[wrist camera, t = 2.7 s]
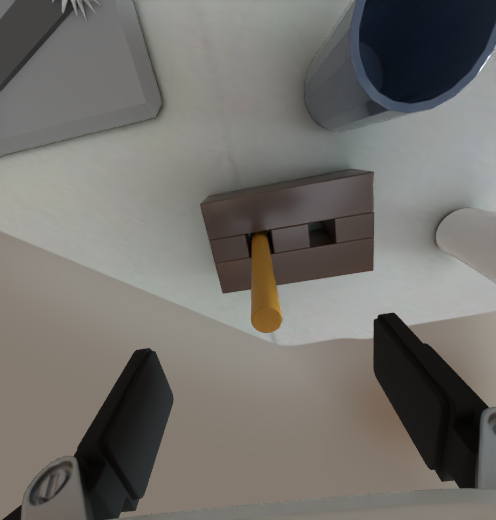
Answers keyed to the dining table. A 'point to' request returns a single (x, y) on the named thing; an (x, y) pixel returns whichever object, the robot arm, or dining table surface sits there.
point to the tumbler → (397, 59)
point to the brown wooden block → (294, 228)
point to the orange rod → (263, 287)
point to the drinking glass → (470, 239)
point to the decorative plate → (71, 70)
